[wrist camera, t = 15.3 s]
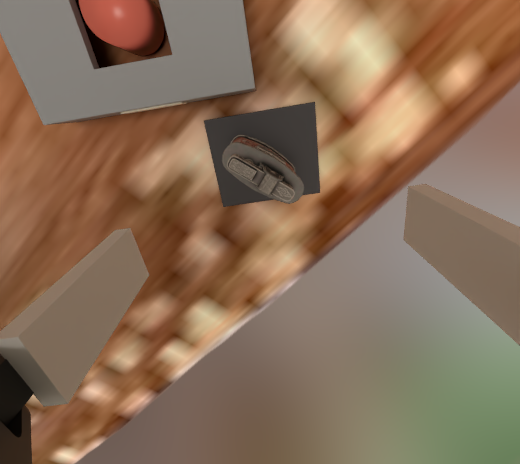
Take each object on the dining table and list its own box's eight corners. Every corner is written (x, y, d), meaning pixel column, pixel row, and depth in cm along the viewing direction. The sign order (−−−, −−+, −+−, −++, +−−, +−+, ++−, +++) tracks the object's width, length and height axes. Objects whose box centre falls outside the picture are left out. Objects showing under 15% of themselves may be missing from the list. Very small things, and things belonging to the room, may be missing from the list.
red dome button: (123, 59, 26) (94, 50, 21) (103, -3, 24) (67, -28, 19) (170, 50, 26) (151, 39, 21) (154, -14, 24) (129, -42, 19)
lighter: (300, 164, 31) (317, 189, 22) (284, 188, 32) (294, 221, 23) (239, 126, 29) (229, 136, 20) (225, 154, 30) (210, 175, 21)
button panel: (77, 123, 29) (44, 126, 25) (5, -49, 23) (-56, -86, 19) (255, 92, 28) (255, 90, 23) (229, -98, 22) (221, -151, 17)
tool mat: (223, 205, 33) (223, 206, 33) (204, 120, 29) (203, 120, 29) (319, 191, 33) (320, 192, 32) (313, 102, 28) (314, 102, 28)
